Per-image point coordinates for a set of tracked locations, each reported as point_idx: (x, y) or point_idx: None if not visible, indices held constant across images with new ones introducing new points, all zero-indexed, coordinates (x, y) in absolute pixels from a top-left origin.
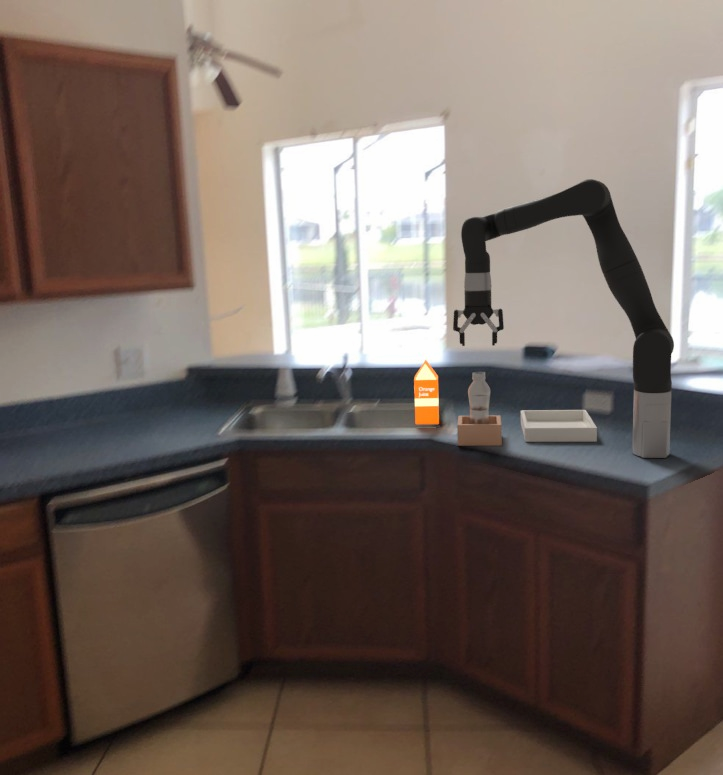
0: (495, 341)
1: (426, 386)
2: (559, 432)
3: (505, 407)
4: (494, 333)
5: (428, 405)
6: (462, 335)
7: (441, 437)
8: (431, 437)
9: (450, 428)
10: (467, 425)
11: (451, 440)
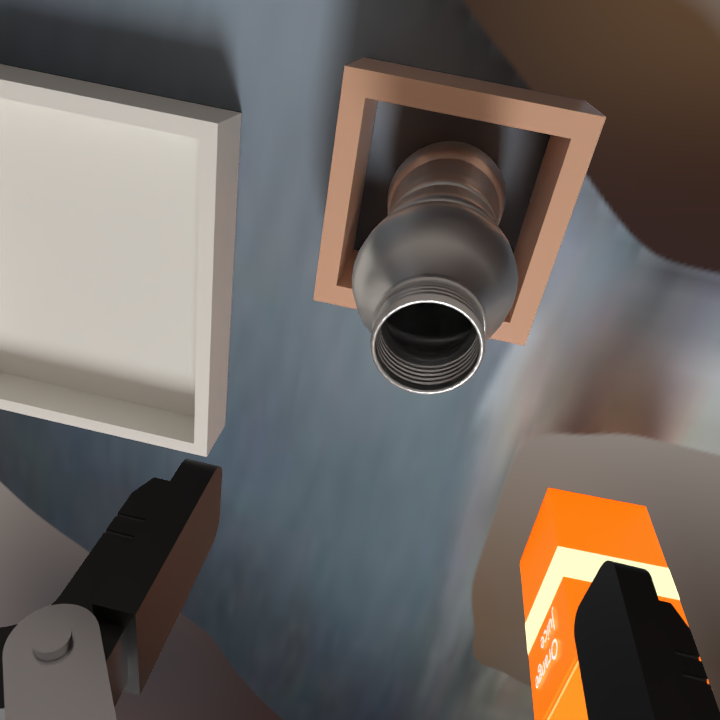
0: (154, 500)
1: None
2: (62, 86)
3: (253, 615)
4: (101, 593)
5: (604, 557)
6: (688, 716)
7: (611, 278)
8: (658, 288)
9: (520, 414)
10: (544, 105)
11: (582, 212)
